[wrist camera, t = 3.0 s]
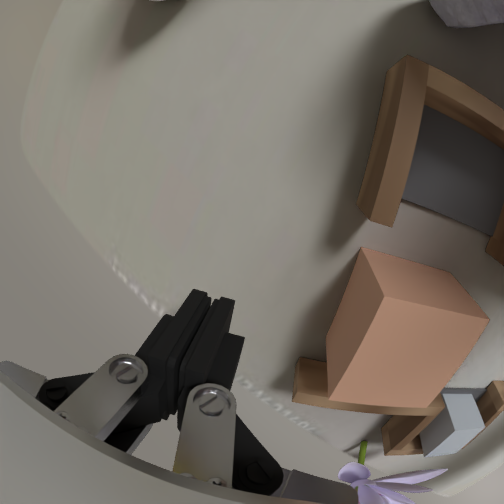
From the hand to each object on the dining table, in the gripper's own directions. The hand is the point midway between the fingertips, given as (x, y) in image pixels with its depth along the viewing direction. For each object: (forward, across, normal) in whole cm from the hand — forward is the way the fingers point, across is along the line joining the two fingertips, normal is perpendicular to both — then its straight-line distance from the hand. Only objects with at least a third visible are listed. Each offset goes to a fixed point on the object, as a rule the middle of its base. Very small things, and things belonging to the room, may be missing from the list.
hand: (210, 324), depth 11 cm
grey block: (+4, -20, +8) cm, 22 cm away
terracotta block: (+5, -9, 0) cm, 10 cm away
